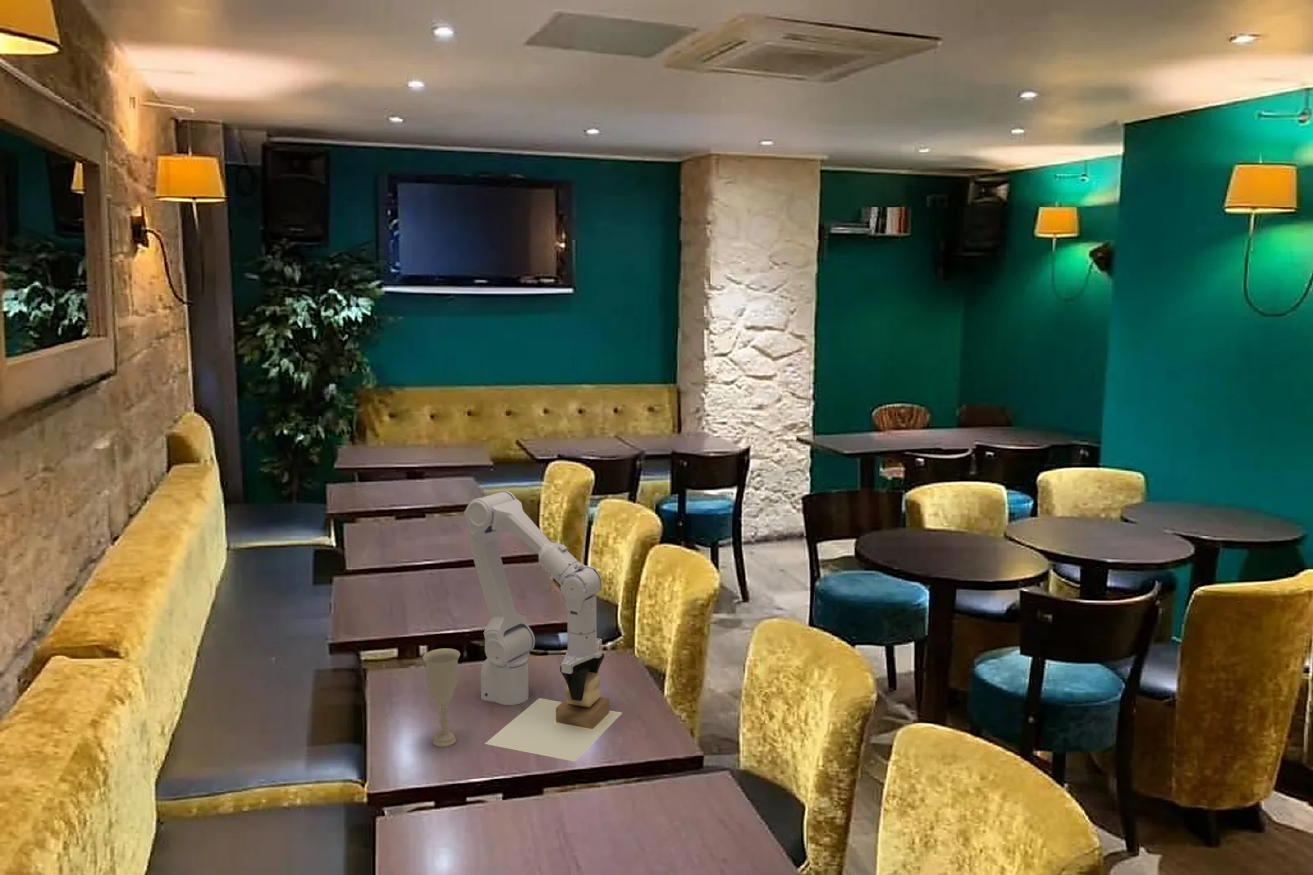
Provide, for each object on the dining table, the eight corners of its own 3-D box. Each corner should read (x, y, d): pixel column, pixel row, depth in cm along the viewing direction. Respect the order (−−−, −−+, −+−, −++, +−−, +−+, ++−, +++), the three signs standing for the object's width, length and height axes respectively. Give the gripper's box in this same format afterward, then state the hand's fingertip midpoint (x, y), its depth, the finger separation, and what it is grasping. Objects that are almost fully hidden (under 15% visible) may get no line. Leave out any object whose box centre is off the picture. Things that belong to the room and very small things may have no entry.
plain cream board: (484, 748, 190) (484, 743, 189) (539, 701, 210) (539, 697, 210) (575, 766, 183) (575, 761, 183) (622, 716, 203) (622, 712, 203)
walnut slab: (556, 722, 198) (555, 708, 198) (573, 706, 206) (573, 692, 205) (592, 729, 196) (592, 714, 195) (609, 712, 203) (609, 698, 202)
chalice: (453, 756, 186) (450, 664, 183) (419, 752, 188) (416, 661, 185) (468, 738, 193) (466, 649, 190) (435, 735, 195) (432, 647, 192)
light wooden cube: (566, 703, 199) (566, 679, 198) (577, 693, 203) (577, 670, 202) (589, 707, 197) (589, 683, 196) (599, 697, 201) (599, 673, 201)
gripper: (584, 644, 189) (585, 712, 192) (615, 620, 203) (615, 683, 205) (551, 639, 192) (552, 706, 194) (583, 615, 205) (584, 678, 208)
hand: (582, 694), depth 200 cm, fingers closed on light wooden cube, 5 cm apart
